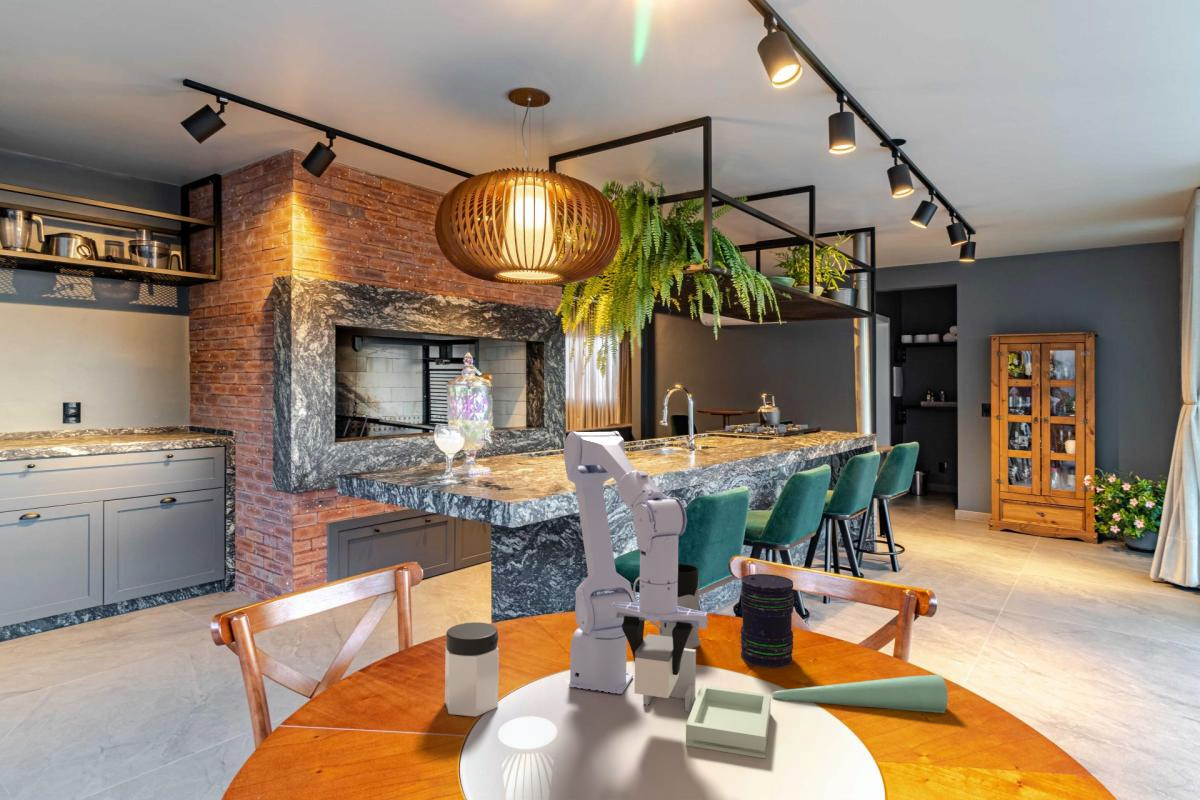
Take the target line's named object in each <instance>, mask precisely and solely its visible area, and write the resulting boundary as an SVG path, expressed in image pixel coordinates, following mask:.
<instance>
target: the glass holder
mask: <svg viewBox="0 0 1200 800" xmlns="http://www.w3.org/2000/svg"><path fill="white" fill-rule="evenodd" d="M639 581H640V576H638V577H637V578H635V581H634V583H633V588H632V592H633V595H634V597H635V599H636V602H637V603H638V600H637V596H636V585H637V583H638V582H639ZM699 587H700V581H699V568H698V567H697V566H695V565H691V564H685V563H678V597H677V606H680V607H684V608H688V609H693V610H697V611H700V609H699V607H700V604H699V603H700V602H699V601H700V599H699V598H700V588H699ZM649 622H650V623H651V624H653V626H655V627H656V628H657V630H658V634H659V635H660V636H668V637H672V630H673V628H674V627H675V626H676V624H672V623H663V622H659V625H658V624H657V622H654V621H649ZM701 643H702V642H701V639H700V636H699V628H698V626H693V628H692V631H691V633H690V635H689V637H688V640H687V642H686V645H685V648H687V649H694V648H697V647H699V646H700V645H701Z"/></svg>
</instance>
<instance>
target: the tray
mask: <svg viewBox="0 0 1200 800" xmlns="http://www.w3.org/2000/svg"><path fill="white" fill-rule="evenodd" d="M771 697H772V694H768V693H761V692H755V691H748V690H747V691H746V690H739V689H733V688H732V689H731V688H725V687H717V686H710V685H703V684H701V685H700V687H699V690H698V692H697V694H696V696H695V700H694V703H693V705H692V708H691V710H690V712H689V715H688V719H687V722H686V723H685V746H687V747H694V748H699V749H705V750H712V751H717V752H724V753H730V754H736V755H740V756H747V757H754V758H758V759H764V760H765V759H766V754H767V753H766V751H767V744H768V743H767V742H768V737H769V736H768V735H769V727H770V720H771Z"/></svg>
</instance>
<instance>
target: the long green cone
mask: <svg viewBox="0 0 1200 800" xmlns="http://www.w3.org/2000/svg"><path fill="white" fill-rule="evenodd" d="M771 697H772V698H773V699H775V698H777V699H776V700H782V699H787V700H786V701H793V700H797V702H805V701H808V702H807V703H819V704H831V705H843V706H855V707H864V708H865V707H867V708H879V709H890V710H903V711H914V712H915V711H917V712H926V713H927V712H928V713H929V712H930V713H941V714H944V713H946V712H945V711H946V709H947V708H948V707H947V706H948V703H949V702H948V700H949V695H948V687H947V684H946V681H945V679H944V678H943V676H942V675H941V674H929V675H911V676H909V675H908V676H901V677H893V678H882V679H874V680H864V681H855V682H845V683H835V684H827V685H817V686H807V687H806V686H805V687H797V688H790V689H789V688H788V689H781V690H774V691H773V692H772V694H771Z"/></svg>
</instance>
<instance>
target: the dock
mask: <svg viewBox="0 0 1200 800" xmlns="http://www.w3.org/2000/svg"><path fill="white" fill-rule="evenodd" d="M696 662H697V649H694V648H691V649H687V648H684V651H683V654H682V658H681V663H680V670H679V677H678V679H677V681H676V683H675V685H674V688H673V690H672V692H671V694H670V696H671V697H670V698H675V697H676V699H677V698H678V699H682V698H683V699H684V712H689V713H691V710H692V708H693V705H694V702H695V700H696V682H697V681H696V679H697V678H696V675H697V674H696V672H697V669H696V667H697V666H696V664H697V663H696ZM642 695H643V694H642ZM653 697H654V696H649V695H643V697H642V700H643V701H642V702H643V703H642V704H646V705H645V706H649V705H650V703H649V702H651V701H652V699H653ZM651 698H652V699H651ZM683 699H682V700H683ZM650 700H651V701H650ZM648 704H649V705H648Z"/></svg>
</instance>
